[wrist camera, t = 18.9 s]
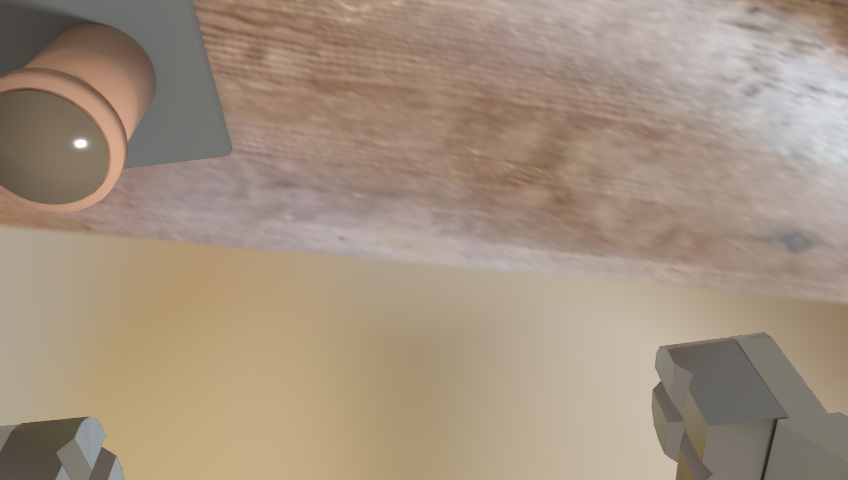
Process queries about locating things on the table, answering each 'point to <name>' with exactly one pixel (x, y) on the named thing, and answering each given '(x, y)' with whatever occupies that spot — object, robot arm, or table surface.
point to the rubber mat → (169, 53)
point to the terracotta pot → (72, 118)
